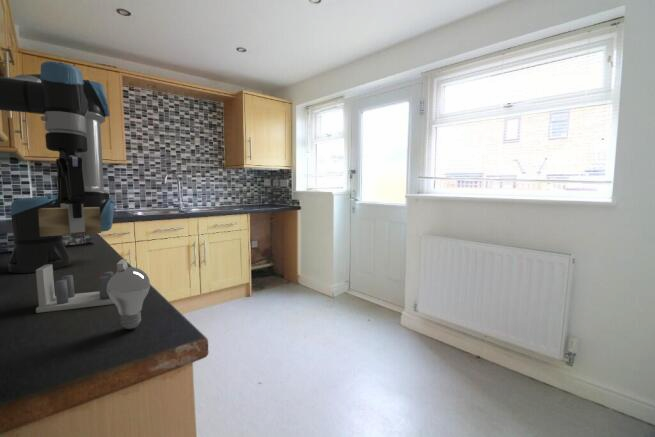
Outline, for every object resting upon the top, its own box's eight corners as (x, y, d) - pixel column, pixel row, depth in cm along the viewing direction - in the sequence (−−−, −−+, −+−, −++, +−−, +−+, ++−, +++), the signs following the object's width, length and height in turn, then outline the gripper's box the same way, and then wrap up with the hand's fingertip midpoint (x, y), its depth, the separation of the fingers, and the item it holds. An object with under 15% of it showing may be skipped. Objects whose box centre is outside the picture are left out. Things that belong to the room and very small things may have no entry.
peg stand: (51, 300, 75) (48, 263, 74) (130, 292, 81) (128, 257, 80) (36, 312, 68) (32, 271, 67) (123, 302, 74) (121, 265, 73)
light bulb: (160, 324, 63) (157, 265, 62) (128, 340, 56) (124, 274, 55) (134, 319, 65) (131, 261, 64) (100, 333, 59) (96, 270, 57)
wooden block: (100, 230, 82) (99, 207, 81) (101, 233, 76) (99, 208, 76) (43, 233, 75) (41, 208, 75) (39, 236, 70) (38, 209, 69)
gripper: (38, 137, 78) (45, 229, 80) (53, 125, 64) (61, 236, 66) (76, 140, 84) (82, 226, 85) (97, 130, 70) (104, 232, 72)
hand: (73, 230), depth 76 cm, fingers closed on wooden block, 8 cm apart
